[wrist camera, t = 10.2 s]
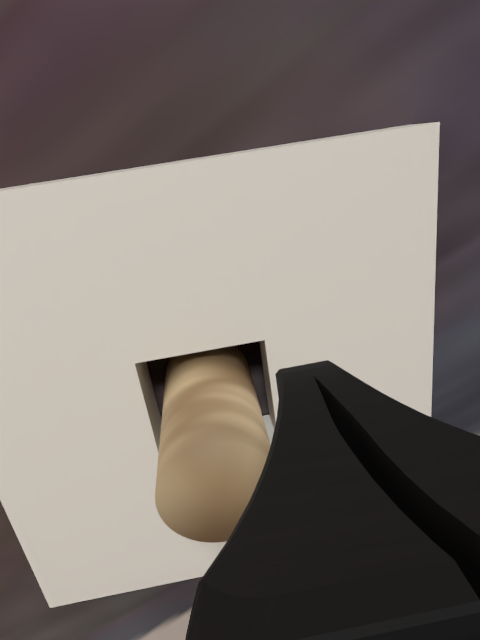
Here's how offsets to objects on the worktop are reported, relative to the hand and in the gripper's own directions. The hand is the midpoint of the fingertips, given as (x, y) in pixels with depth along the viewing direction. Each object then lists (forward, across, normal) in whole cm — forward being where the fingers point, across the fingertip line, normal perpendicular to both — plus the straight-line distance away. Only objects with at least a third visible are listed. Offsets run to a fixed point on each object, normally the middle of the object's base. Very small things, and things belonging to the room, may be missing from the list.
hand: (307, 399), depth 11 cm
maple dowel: (+10, +3, +4) cm, 11 cm away
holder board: (+10, +3, +4) cm, 11 cm away
